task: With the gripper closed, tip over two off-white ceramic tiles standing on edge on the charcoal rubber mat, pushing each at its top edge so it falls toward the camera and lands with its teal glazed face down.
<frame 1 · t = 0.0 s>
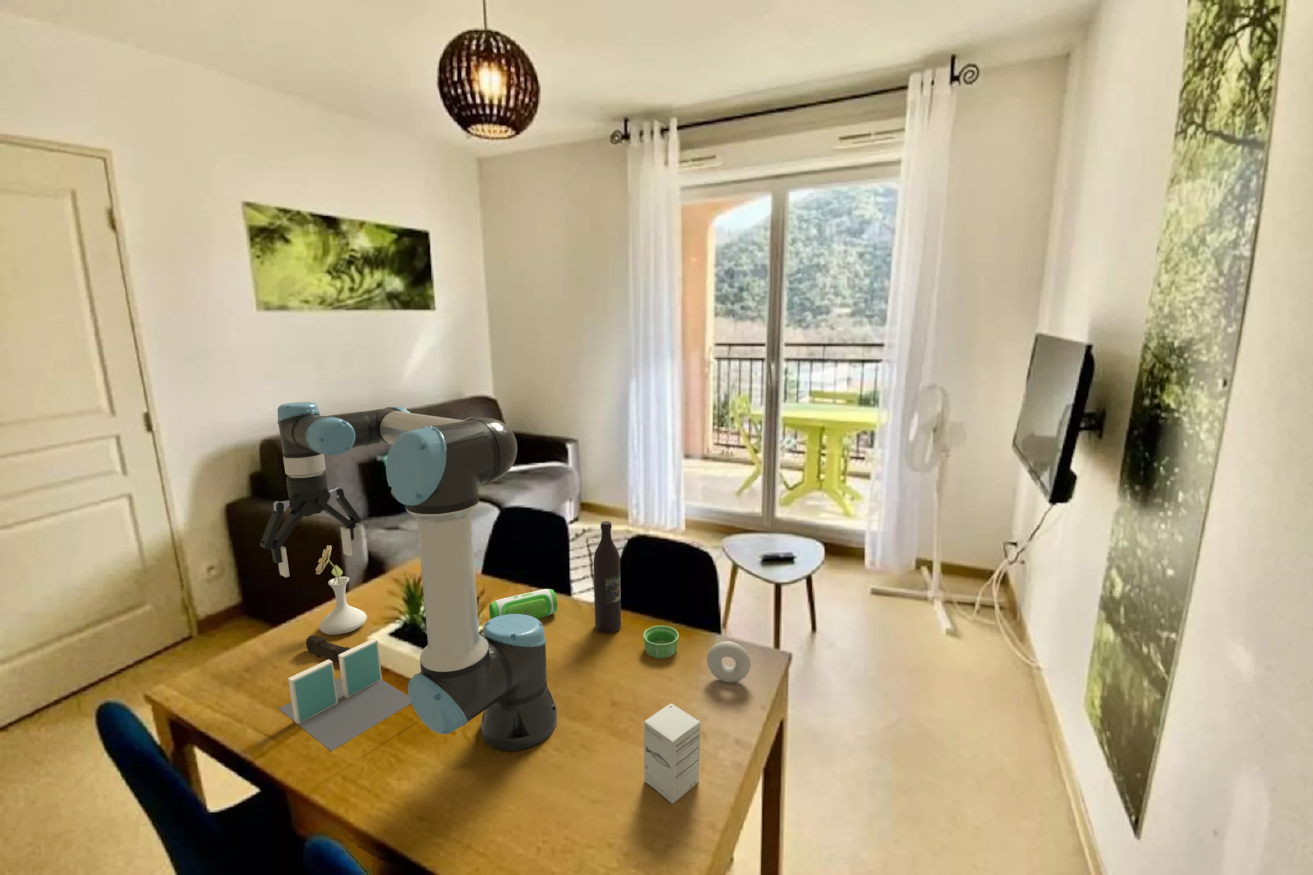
hand: (317, 564, 127), 28 cm above the table, fingers open, 13 cm apart
tile near: (316, 712, 120), point 1 cm above the table, touching mat
tile far: (363, 687, 128), point 1 cm above the table, touching mat
donut: (728, 682, 131), on the table
ramekin: (661, 651, 143), on the table
flower in vase: (343, 630, 153), on the table
mat: (348, 706, 122), on the table
speaker: (524, 620, 158), on the table
supplement box: (671, 783, 102), on the table
hand tool: (332, 661, 140), on the table
wine bottle: (608, 627, 154), on the table
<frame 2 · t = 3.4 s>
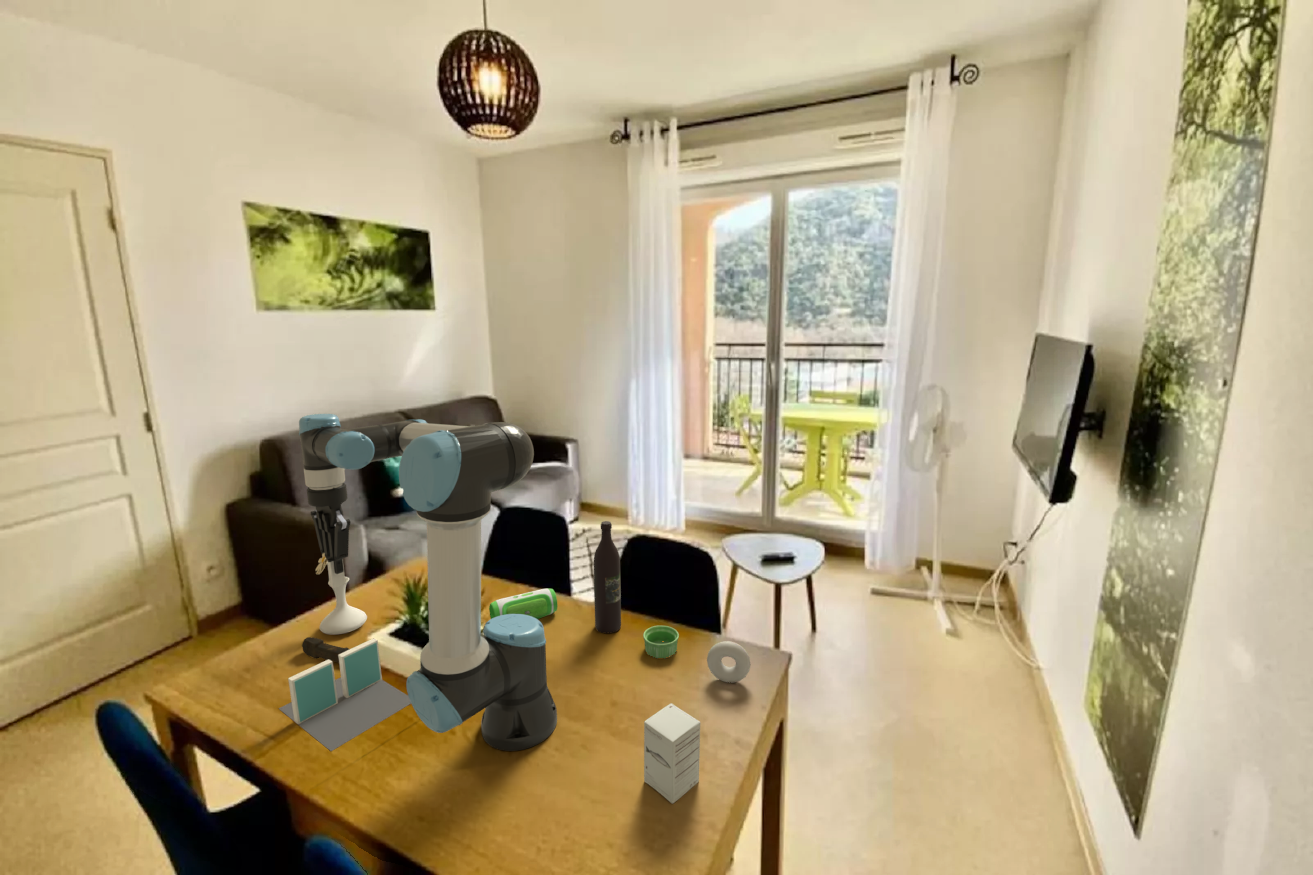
hand: (337, 584, 128), 23 cm above the table, fingers closed
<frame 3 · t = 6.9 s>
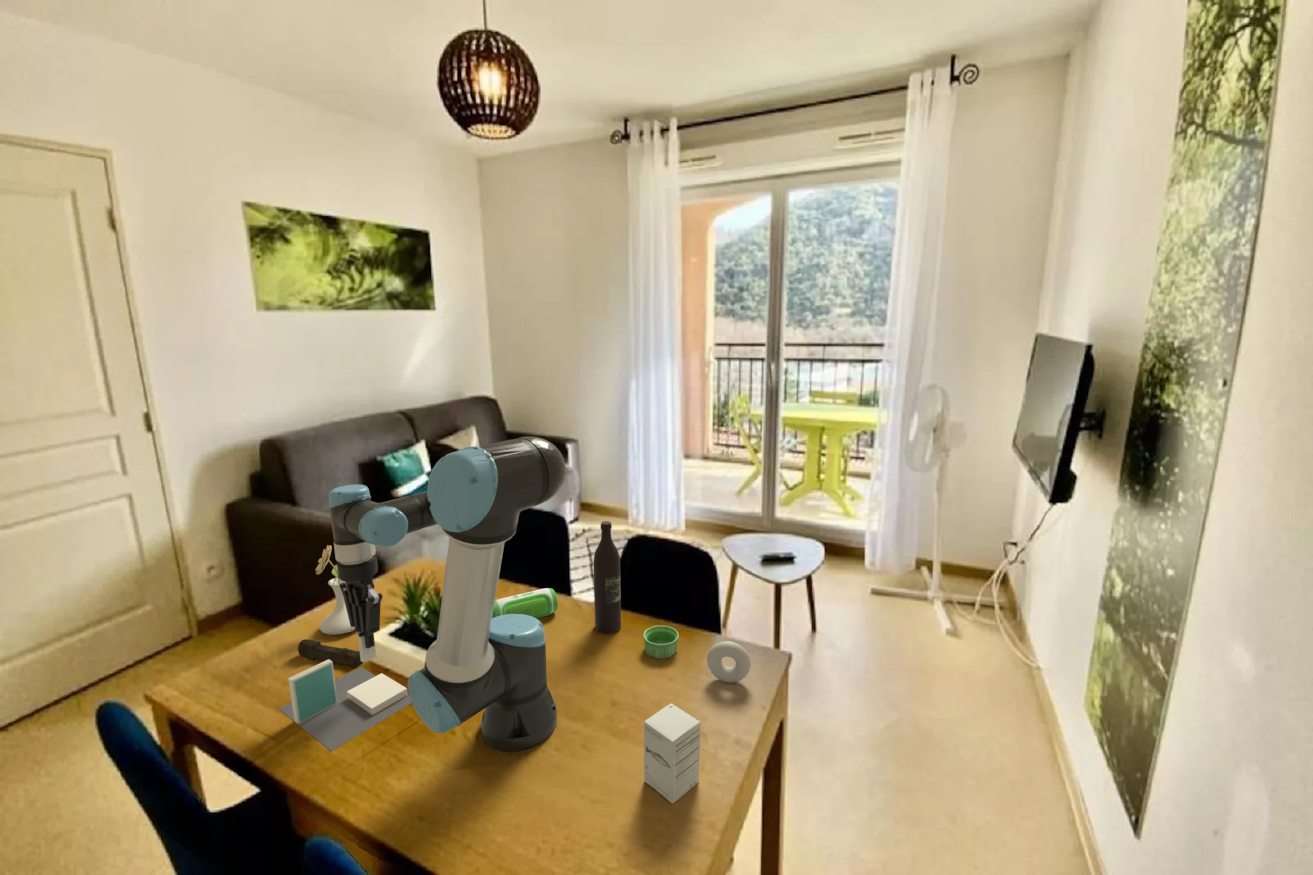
hand: (368, 658, 124), 9 cm above the table, fingers closed
tile far: (365, 685, 127), point 2 cm above the table, tilted 90°, touching mat
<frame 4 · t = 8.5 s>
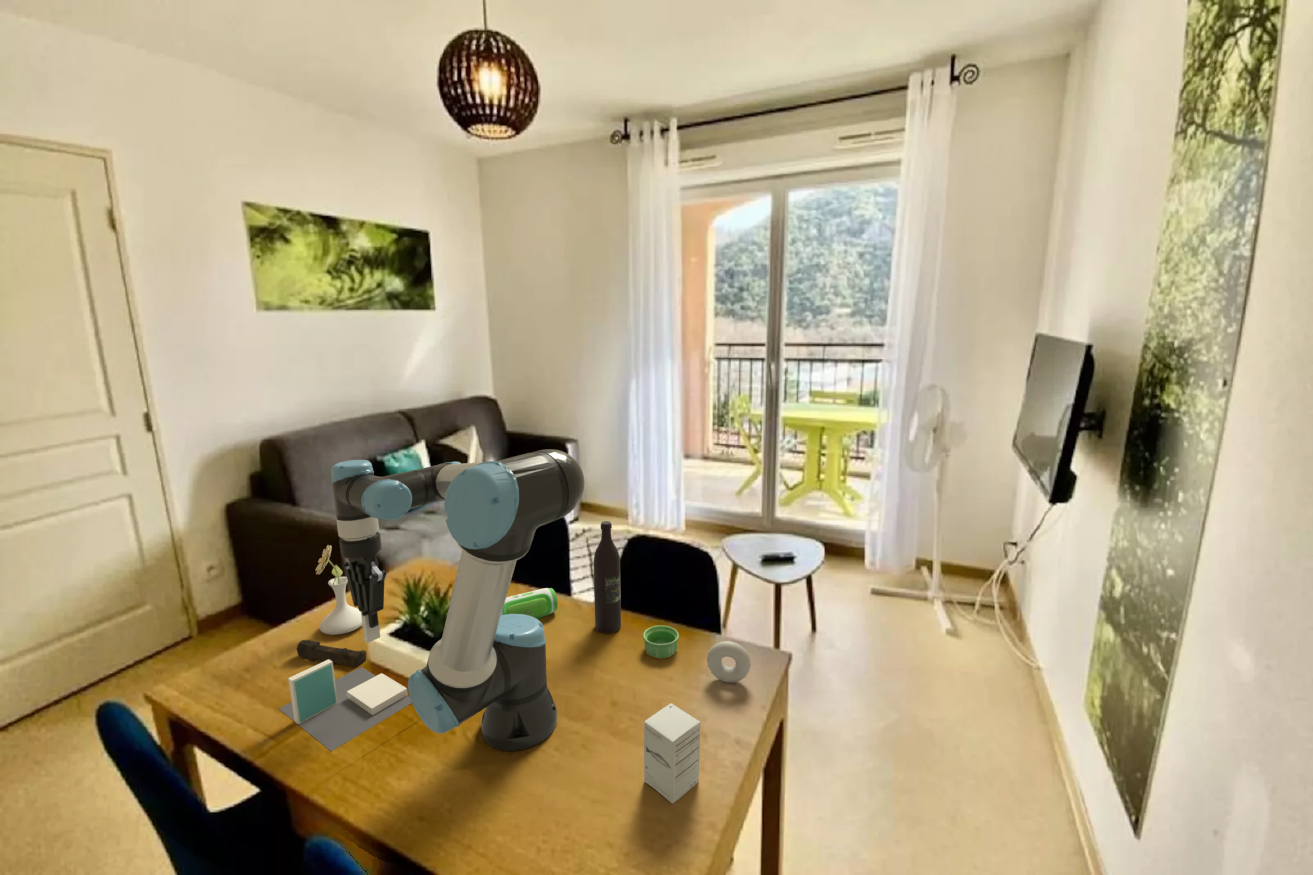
hand: (372, 639, 121), 15 cm above the table, fingers closed
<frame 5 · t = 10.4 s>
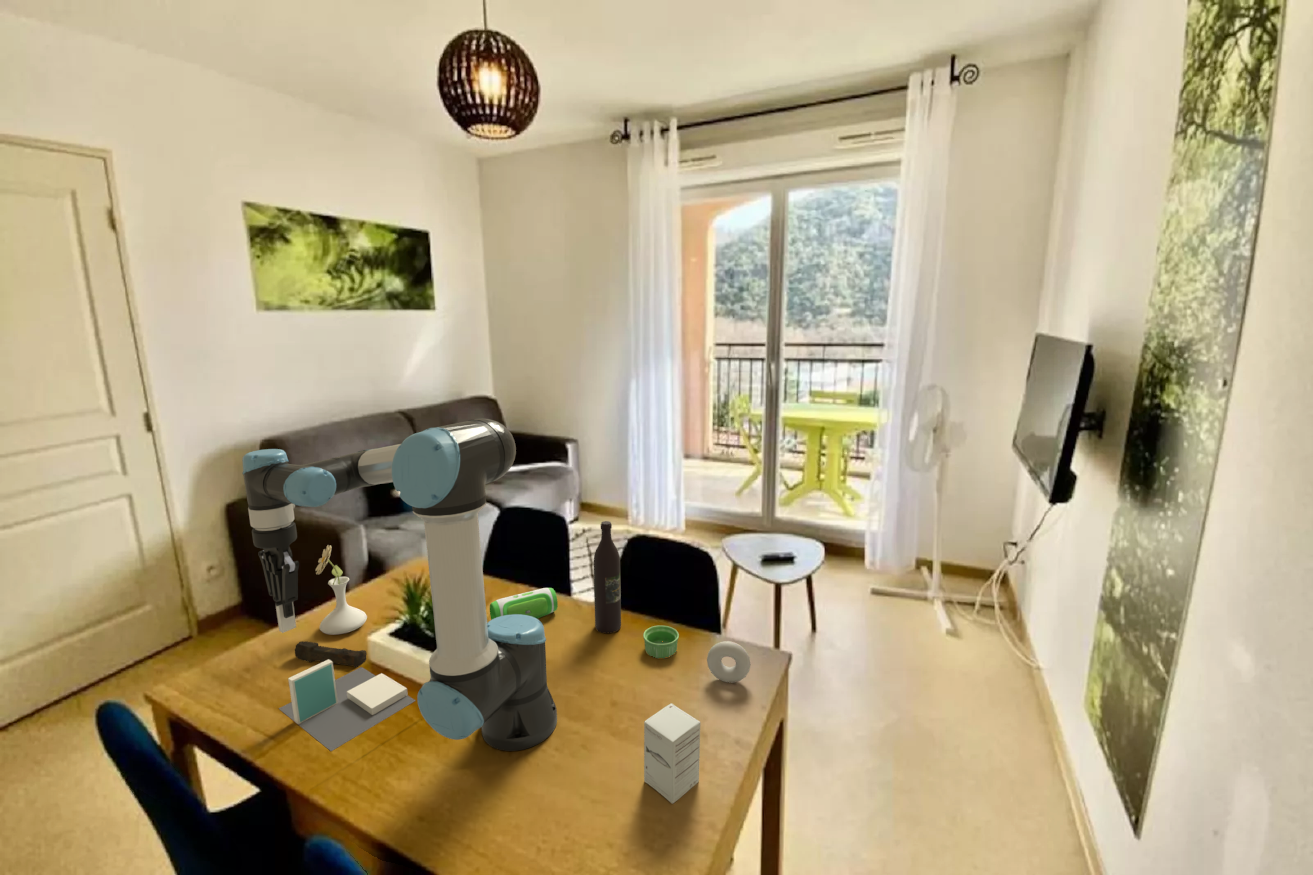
hand: (287, 628, 121), 17 cm above the table, fingers closed
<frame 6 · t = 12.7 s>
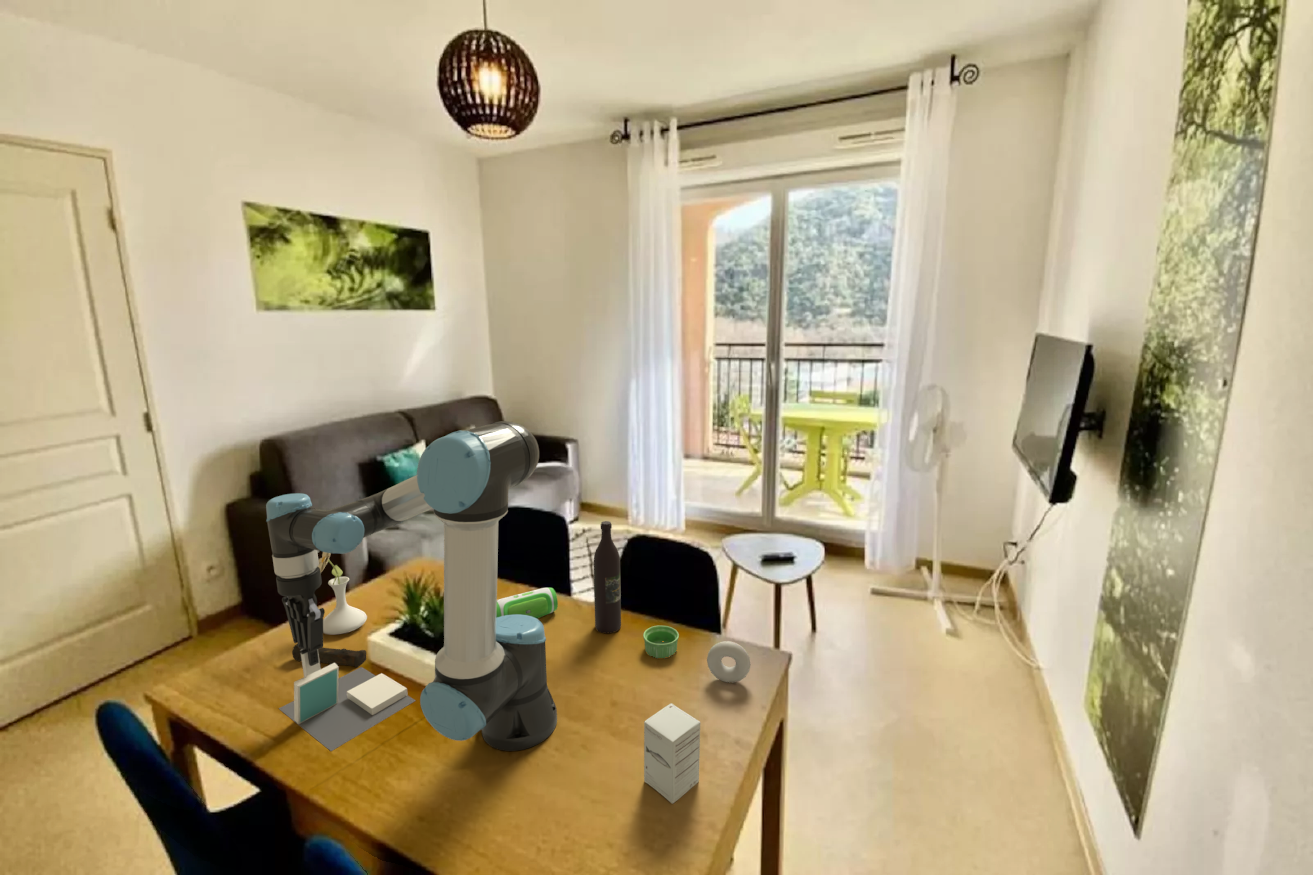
hand: (312, 676, 118), 9 cm above the table, fingers closed
tile near: (316, 711, 120), point 1 cm above the table, tilted 14°, touching mat
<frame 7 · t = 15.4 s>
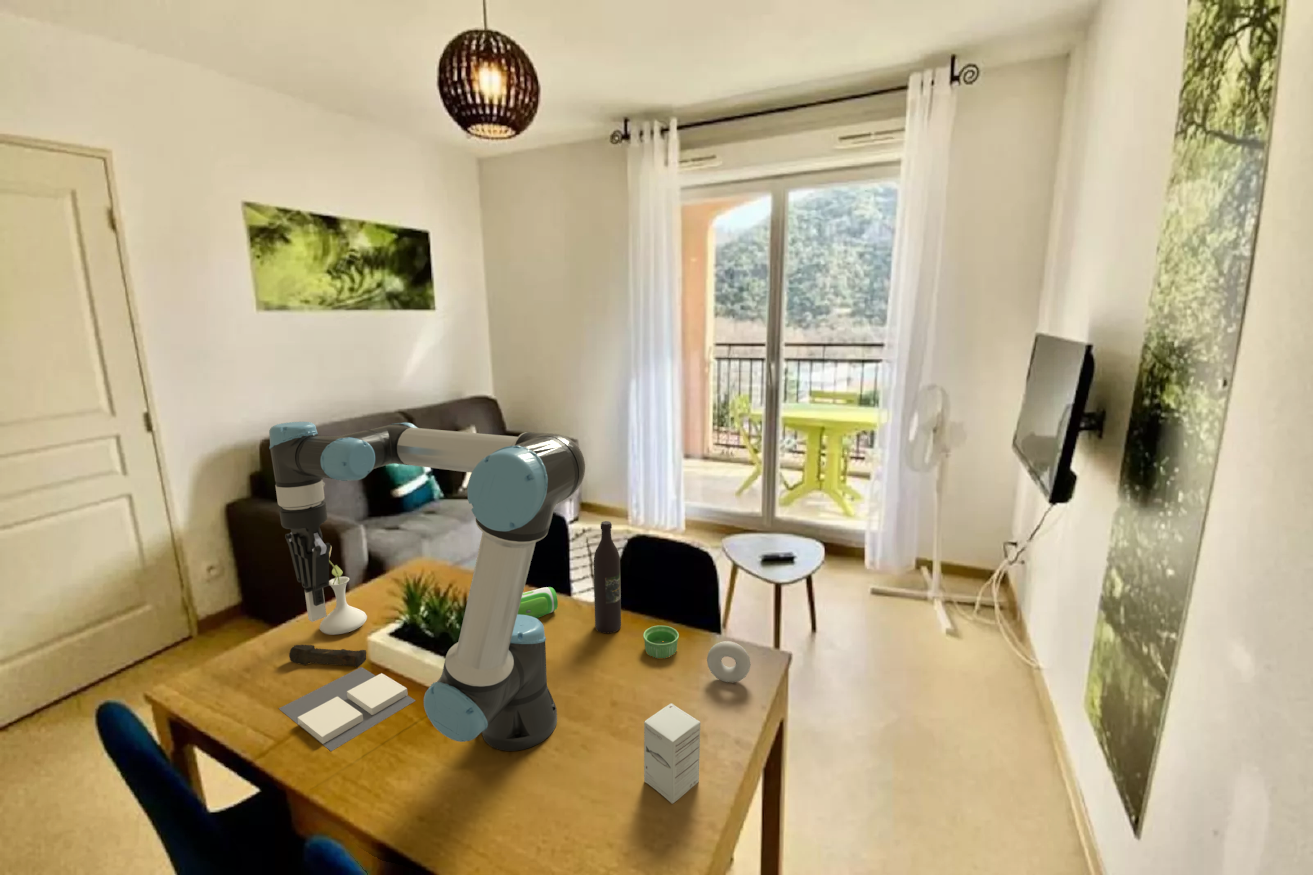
hand: (317, 617, 112), 24 cm above the table, fingers closed
tile near: (318, 709, 119), point 2 cm above the table, tilted 90°, touching mat
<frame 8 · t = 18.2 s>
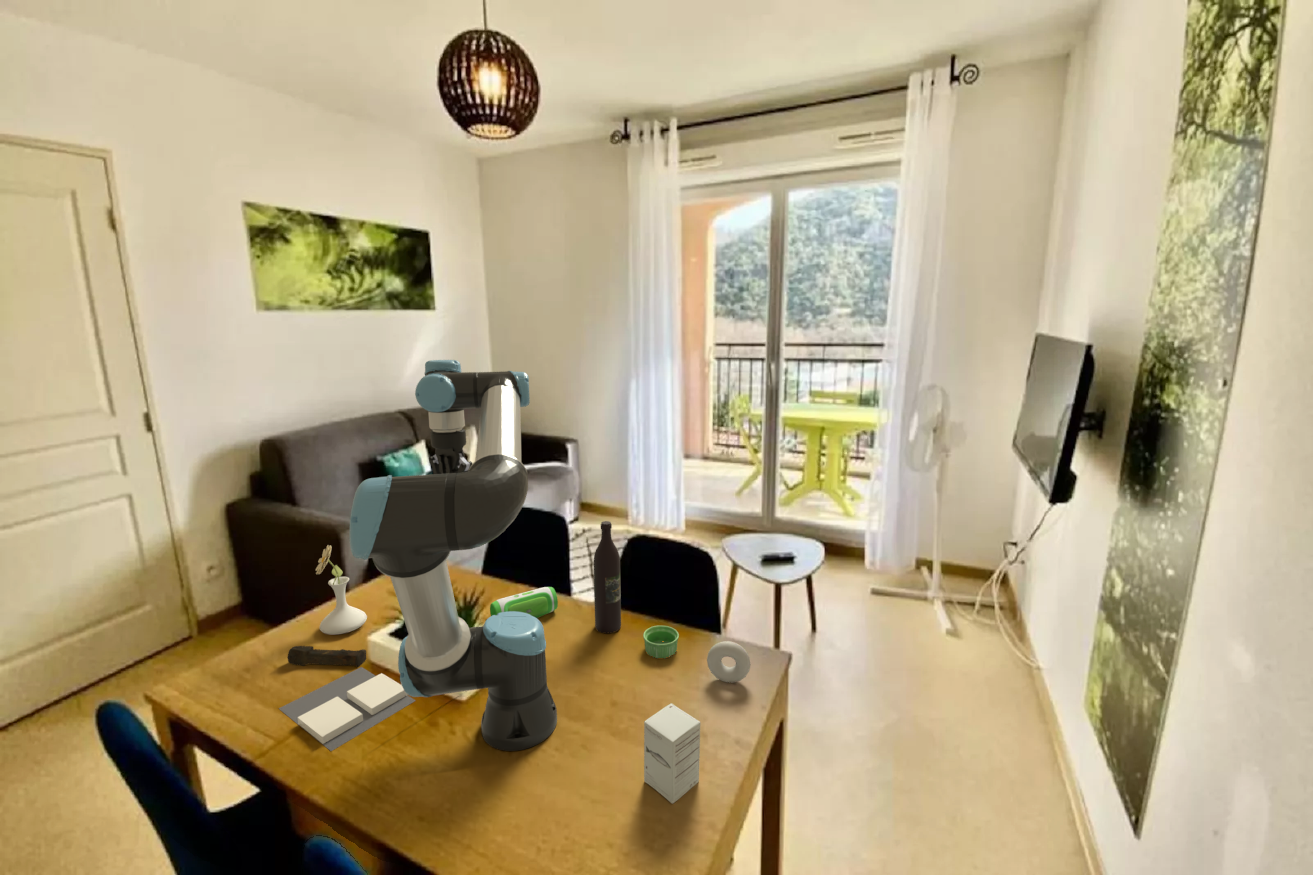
hand: (455, 528, 132), 34 cm above the table, fingers closed
at the end: tile far tilted 90°; tile near tilted 90°; tile near inside the target area on the mat (5.4 cm from its centre), point 1.5 cm above the mat's base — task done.
